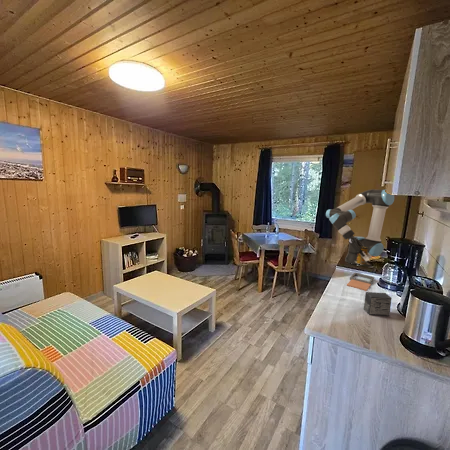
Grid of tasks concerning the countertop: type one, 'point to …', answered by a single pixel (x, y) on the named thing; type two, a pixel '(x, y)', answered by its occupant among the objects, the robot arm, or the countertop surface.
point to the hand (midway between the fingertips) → (369, 259)
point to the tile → (359, 285)
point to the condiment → (360, 259)
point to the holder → (363, 277)
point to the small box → (377, 304)
